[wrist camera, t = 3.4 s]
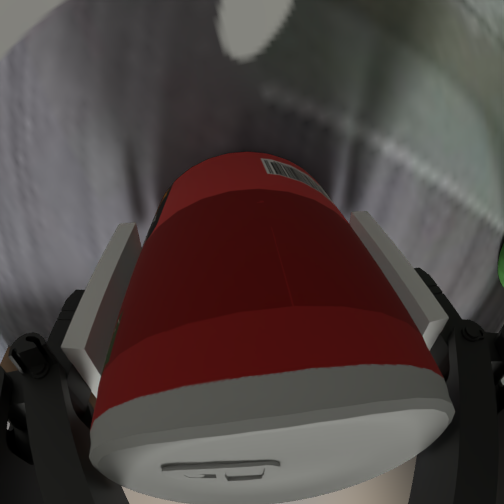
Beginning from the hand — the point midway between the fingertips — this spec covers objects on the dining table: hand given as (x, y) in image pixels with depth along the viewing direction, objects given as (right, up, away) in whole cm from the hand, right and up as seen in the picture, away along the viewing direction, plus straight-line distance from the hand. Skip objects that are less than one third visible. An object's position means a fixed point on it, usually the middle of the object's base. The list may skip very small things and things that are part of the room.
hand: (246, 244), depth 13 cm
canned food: (0, +1, +1) cm, 2 cm away
